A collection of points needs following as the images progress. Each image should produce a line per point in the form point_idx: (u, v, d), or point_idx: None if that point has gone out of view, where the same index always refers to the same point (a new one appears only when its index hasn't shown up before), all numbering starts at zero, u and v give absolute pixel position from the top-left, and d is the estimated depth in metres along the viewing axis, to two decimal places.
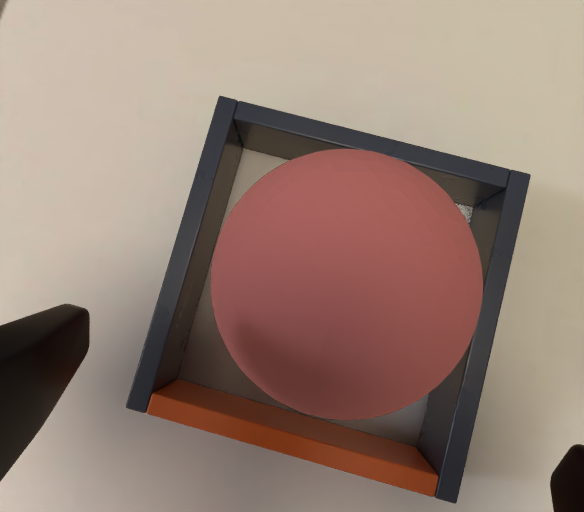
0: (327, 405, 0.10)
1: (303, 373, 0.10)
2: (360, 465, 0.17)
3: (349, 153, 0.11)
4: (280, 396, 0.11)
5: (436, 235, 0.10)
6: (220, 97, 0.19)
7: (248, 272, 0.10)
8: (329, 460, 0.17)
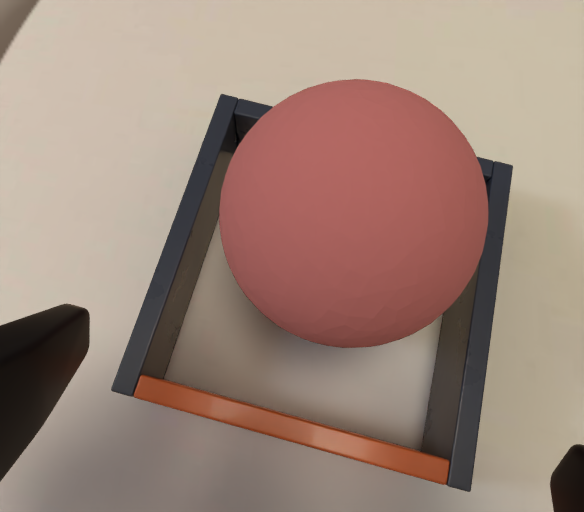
0: (345, 303, 0.10)
1: (321, 259, 0.10)
2: (365, 450, 0.16)
3: None
4: (293, 303, 0.11)
5: (445, 131, 0.10)
6: (222, 95, 0.20)
7: (265, 165, 0.10)
8: (332, 445, 0.16)
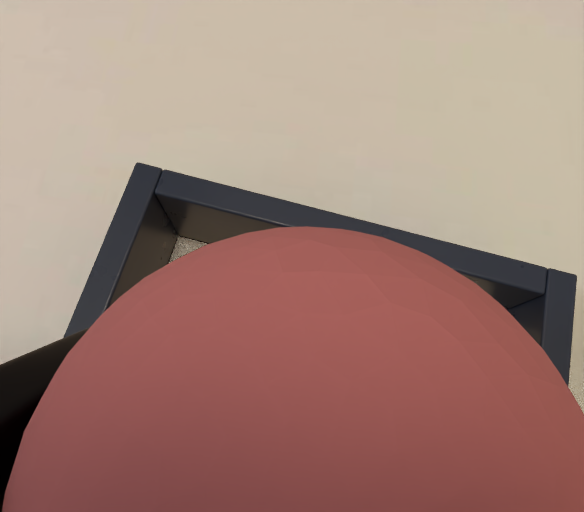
0: None
1: None
2: None
3: (313, 233, 0.05)
4: None
5: (538, 438, 0.04)
6: (137, 164, 0.13)
7: None
8: None
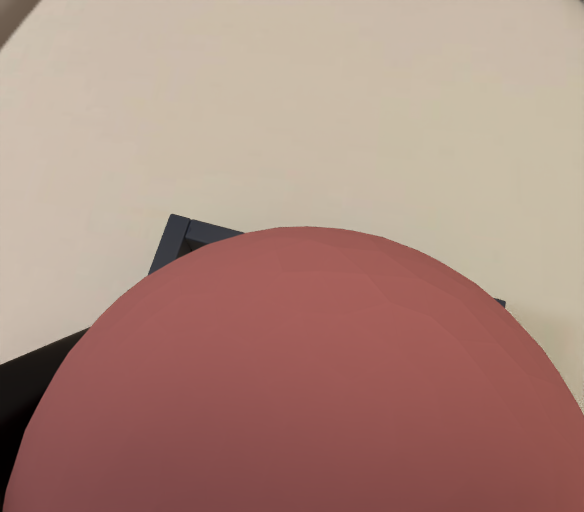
0: None
1: None
2: None
3: (314, 233, 0.05)
4: None
5: (537, 437, 0.04)
6: (171, 215, 0.17)
7: None
8: None
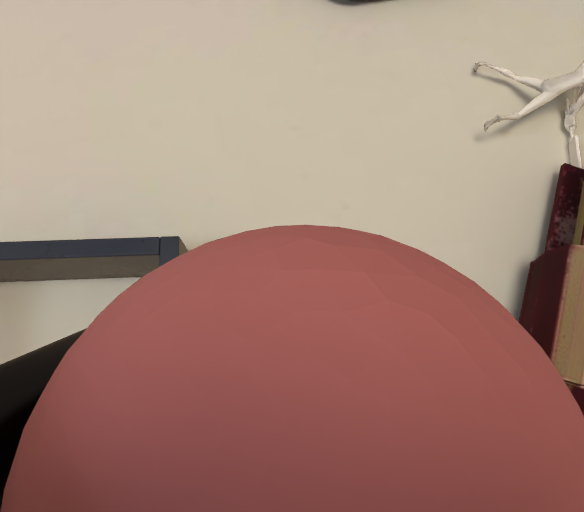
0: None
1: None
2: None
3: (312, 232, 0.05)
4: None
5: (536, 435, 0.04)
6: None
7: None
8: None
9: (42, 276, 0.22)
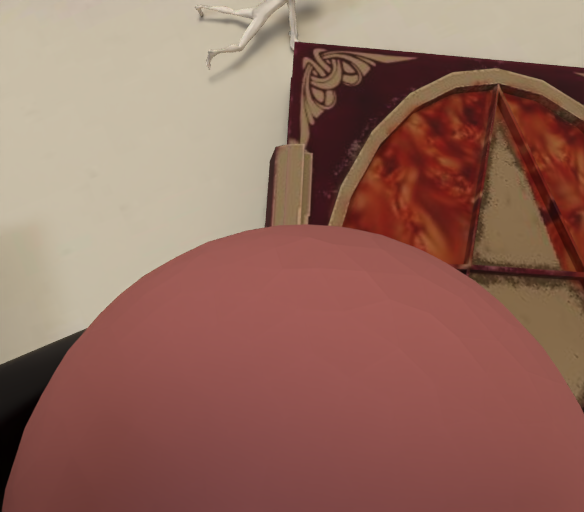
0: None
1: None
2: None
3: (313, 231, 0.05)
4: None
5: (538, 434, 0.04)
6: None
7: None
8: None
9: None
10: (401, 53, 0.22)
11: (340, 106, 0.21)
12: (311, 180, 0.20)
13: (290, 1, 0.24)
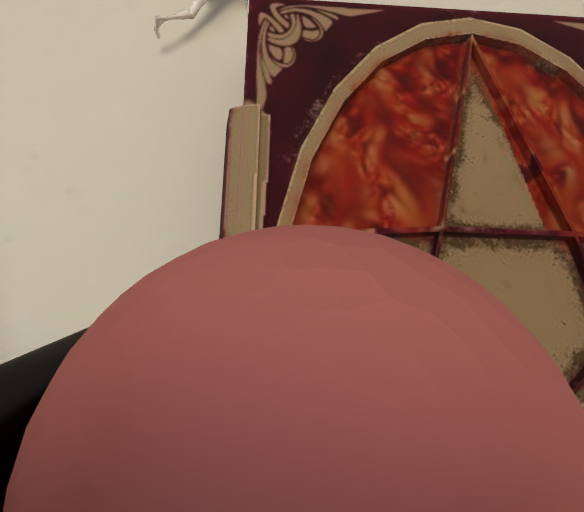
0: None
1: None
2: None
3: (315, 231, 0.05)
4: None
5: (539, 433, 0.04)
6: None
7: None
8: None
9: None
10: (366, 6, 0.21)
11: (300, 63, 0.19)
12: (269, 143, 0.18)
13: None
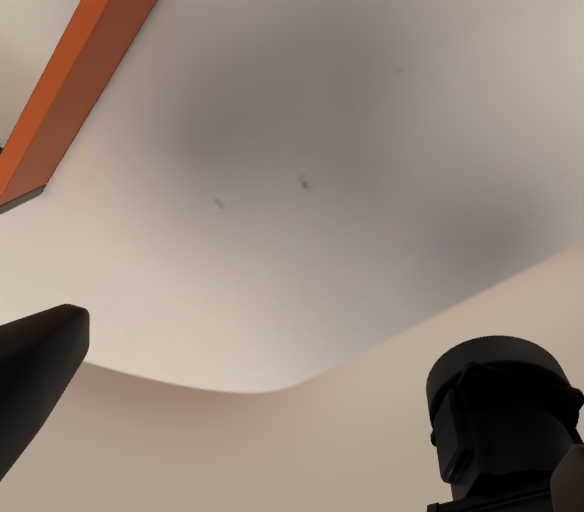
0: None
1: None
2: (73, 40, 0.16)
3: None
4: None
5: None
6: None
7: None
8: (62, 69, 0.16)
9: None
10: None
11: None
12: None
13: None
